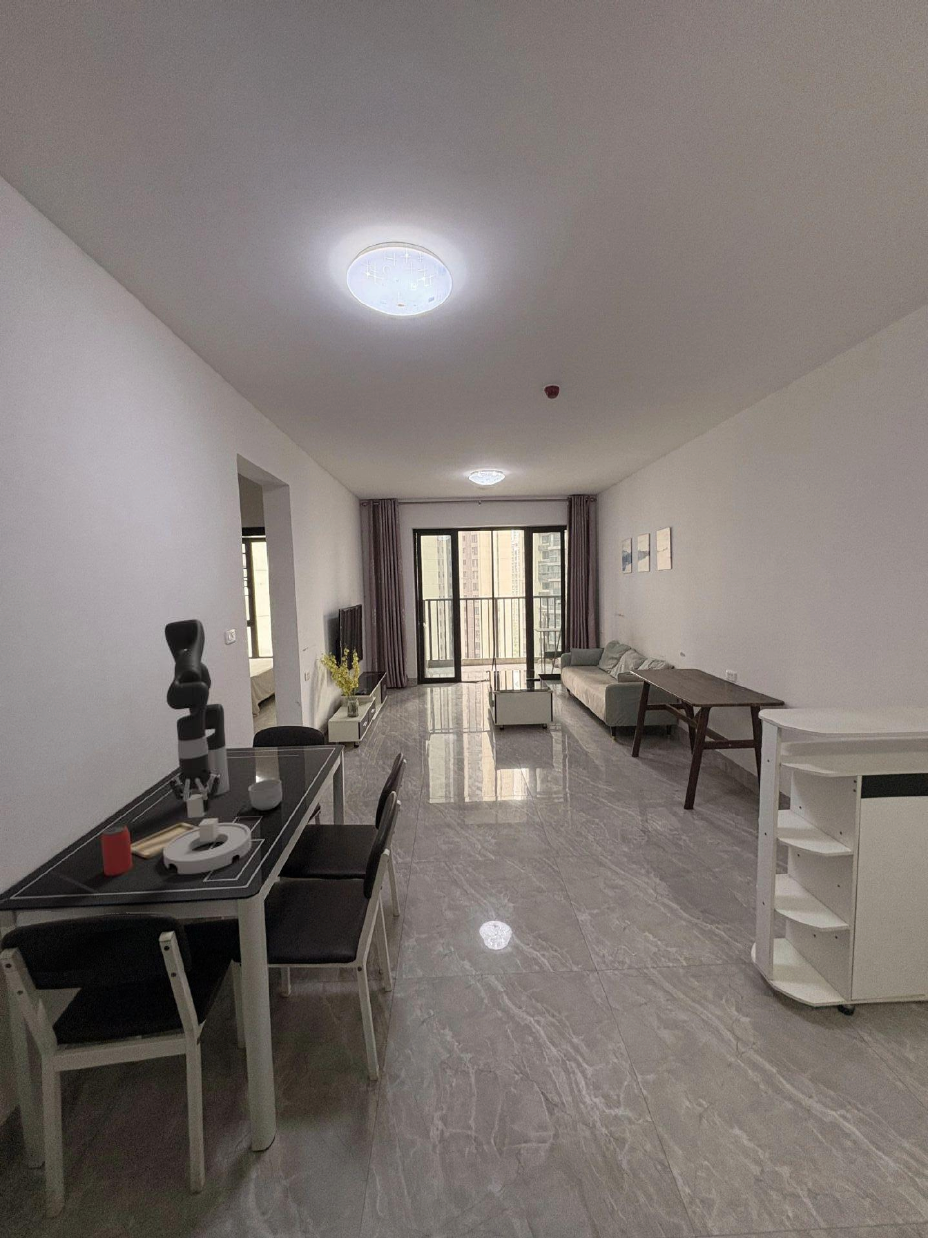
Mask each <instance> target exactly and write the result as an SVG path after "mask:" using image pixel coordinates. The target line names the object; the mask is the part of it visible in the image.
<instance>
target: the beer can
mask: <svg viewBox="0 0 928 1238" xmlns="http://www.w3.org/2000/svg"><path fill="white" fill-rule="evenodd" d="M130 836H131V835H130V831H129V829H128V827H127V825H126V824H115V825H112V826H109V827H107V828H106V829H104V830H103V831H102V835H101V849H102V859H103V860H102V861H103V869H104V875H106V876H117V875H120V874H123V873H126V872H128V871H129V870H131V869H132V868H133V857H132V854H133V853H132V852H131V844H132V843H131V837H130Z"/></svg>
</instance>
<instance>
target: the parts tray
mask: <svg viewBox="0 0 928 1238" xmlns="http://www.w3.org/2000/svg"><path fill="white" fill-rule="evenodd" d="M195 828H199V826H196V825H192V824H189V823H186V822H182V821H181V822H178V823H176V824H174V825H171V826H170V827H167V828H166V829H163V830H160V831H158V832H155V833H153V834H152V835H149V836H147V837H145V838H142V839H140V840H137V841H135V842H133V843H130V844H131V854H135V855H137V856H140V857H142V858H145V859H150V858H153V857H155V856H158V855H159V854H161V853H163V851H164V847H165V846H166V845H167V843H169V842H170V841H171V840H172V839H174V838H175V837H177V836H179V835H181V834H183V833H185V832H187V831H190V830H192V829H195Z"/></svg>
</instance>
